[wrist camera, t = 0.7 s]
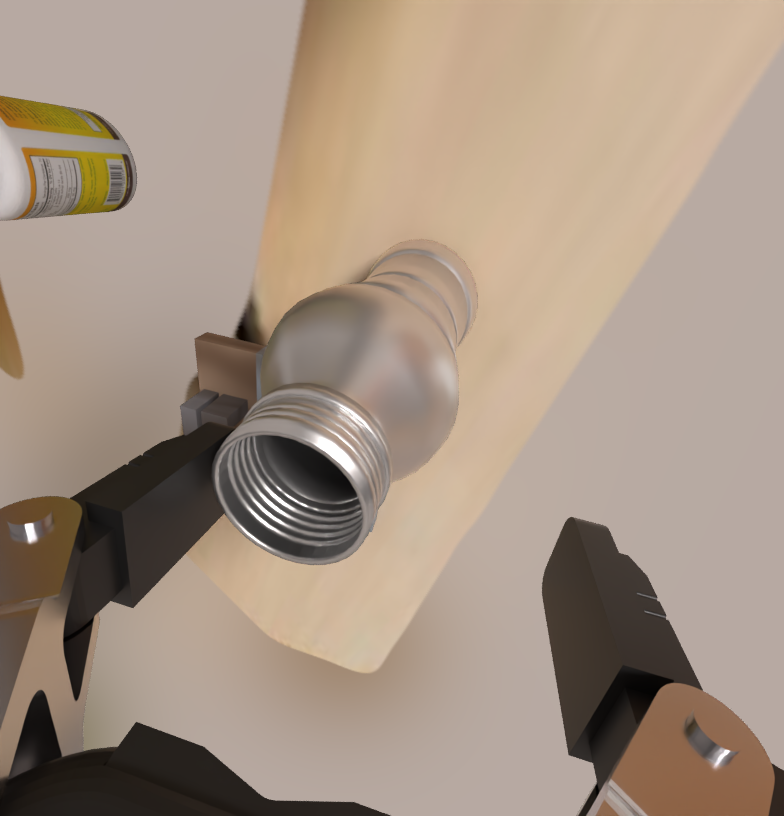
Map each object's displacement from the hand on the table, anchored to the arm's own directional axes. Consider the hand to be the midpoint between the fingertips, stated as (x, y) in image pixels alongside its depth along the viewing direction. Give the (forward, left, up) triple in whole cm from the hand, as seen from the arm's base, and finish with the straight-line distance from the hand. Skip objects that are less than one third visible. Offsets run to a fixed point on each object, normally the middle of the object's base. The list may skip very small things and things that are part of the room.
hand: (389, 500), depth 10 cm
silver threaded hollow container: (-1, -2, -19) cm, 19 cm away
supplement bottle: (-4, -24, -19) cm, 31 cm away
